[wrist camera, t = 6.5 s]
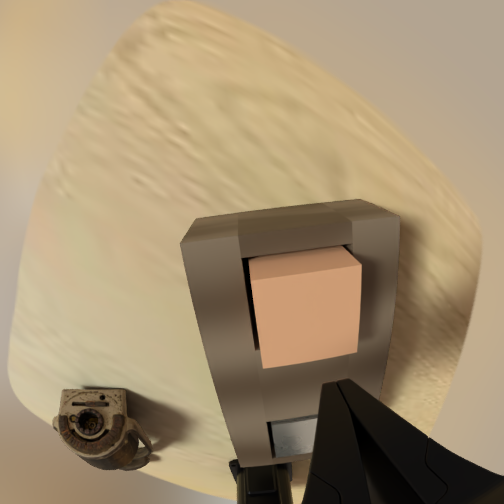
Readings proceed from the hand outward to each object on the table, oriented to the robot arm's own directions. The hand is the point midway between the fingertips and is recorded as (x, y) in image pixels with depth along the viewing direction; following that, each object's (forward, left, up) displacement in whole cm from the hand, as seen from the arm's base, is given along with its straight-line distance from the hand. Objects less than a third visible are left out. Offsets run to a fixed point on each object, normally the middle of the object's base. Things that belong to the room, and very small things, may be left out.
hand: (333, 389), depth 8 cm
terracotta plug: (0, 0, -9) cm, 9 cm away
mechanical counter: (-15, +18, -11) cm, 26 cm away
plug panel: (-6, 0, -11) cm, 12 cm away
